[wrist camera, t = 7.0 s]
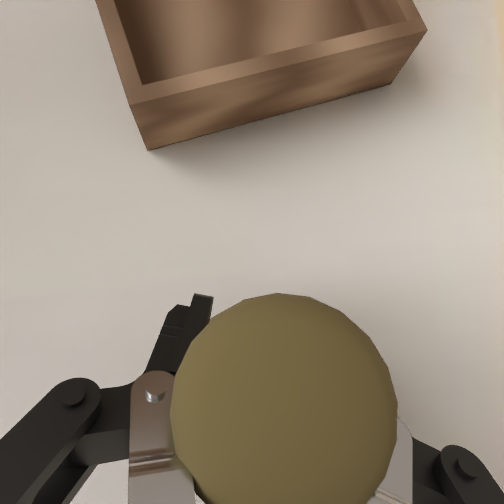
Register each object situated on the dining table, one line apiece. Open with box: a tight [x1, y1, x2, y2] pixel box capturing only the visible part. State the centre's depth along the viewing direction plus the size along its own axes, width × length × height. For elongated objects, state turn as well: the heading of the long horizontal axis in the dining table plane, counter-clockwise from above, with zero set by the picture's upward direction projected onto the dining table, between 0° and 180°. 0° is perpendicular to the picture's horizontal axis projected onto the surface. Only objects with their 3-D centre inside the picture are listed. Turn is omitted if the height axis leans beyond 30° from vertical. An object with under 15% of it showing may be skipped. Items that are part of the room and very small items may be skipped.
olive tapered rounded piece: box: [170, 293, 397, 504], centre depth 12 cm, size 6×6×11 cm
